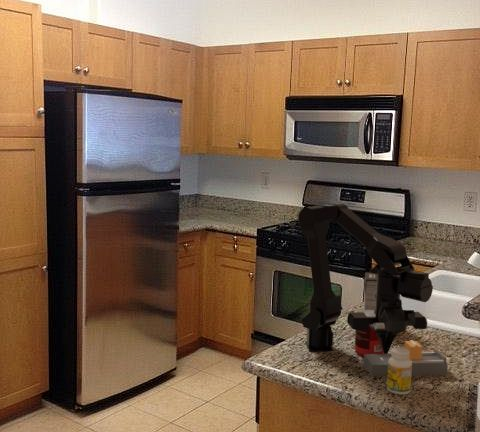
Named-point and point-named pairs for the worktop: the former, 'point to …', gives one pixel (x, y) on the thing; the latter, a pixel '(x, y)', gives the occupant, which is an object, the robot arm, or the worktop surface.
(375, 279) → the coffee box
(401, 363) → the supplement bottle
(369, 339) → the canned food
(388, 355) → the switch base
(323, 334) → the robot arm
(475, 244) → the worktop surface
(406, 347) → the switch slider
